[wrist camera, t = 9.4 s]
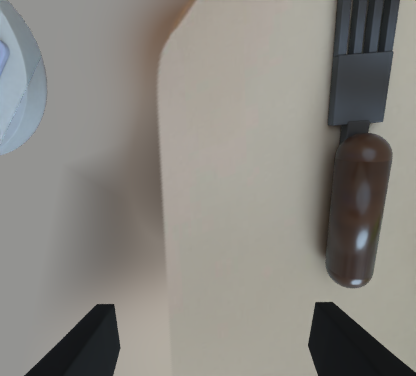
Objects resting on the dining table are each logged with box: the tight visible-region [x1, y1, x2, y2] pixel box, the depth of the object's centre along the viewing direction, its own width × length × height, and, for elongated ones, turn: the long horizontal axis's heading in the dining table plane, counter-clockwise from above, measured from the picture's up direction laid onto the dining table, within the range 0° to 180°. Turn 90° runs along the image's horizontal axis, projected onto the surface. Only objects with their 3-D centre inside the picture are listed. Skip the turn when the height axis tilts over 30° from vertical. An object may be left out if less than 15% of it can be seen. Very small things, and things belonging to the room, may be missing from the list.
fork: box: [325, 0, 400, 288], centre depth 15 cm, size 20×3×3 cm, turn 4°
